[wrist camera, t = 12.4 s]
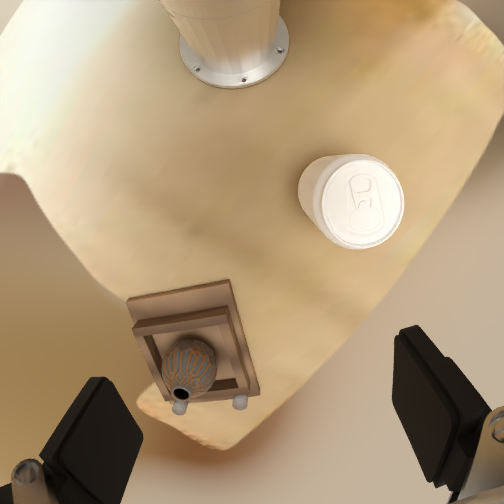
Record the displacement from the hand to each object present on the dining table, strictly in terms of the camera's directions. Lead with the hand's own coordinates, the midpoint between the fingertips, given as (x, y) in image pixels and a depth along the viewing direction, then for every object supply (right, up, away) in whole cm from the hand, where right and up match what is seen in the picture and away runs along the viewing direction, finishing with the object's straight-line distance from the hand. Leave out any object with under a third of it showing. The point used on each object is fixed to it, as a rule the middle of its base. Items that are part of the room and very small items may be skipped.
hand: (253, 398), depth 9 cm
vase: (-8, -9, +31) cm, 33 cm away
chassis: (-8, -9, +32) cm, 34 cm away
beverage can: (+9, +12, +26) cm, 30 cm away
